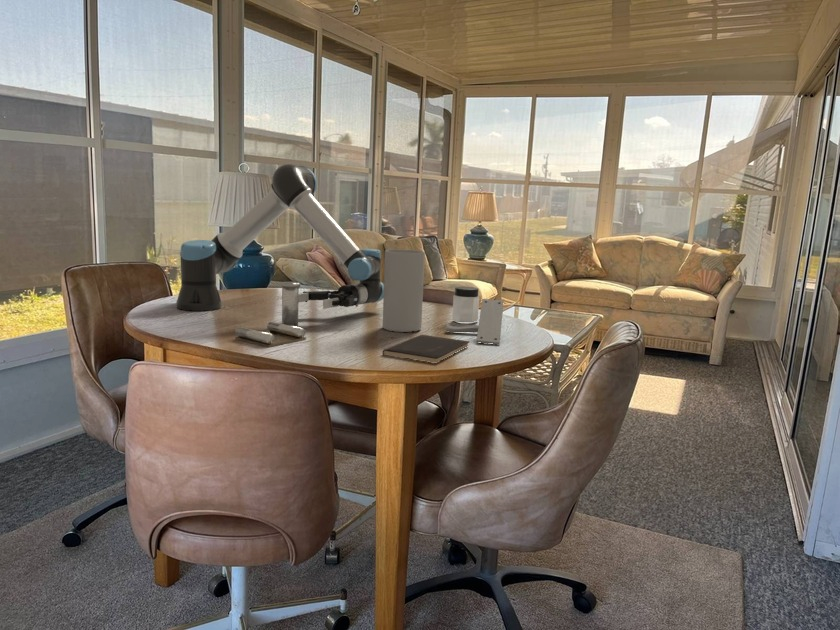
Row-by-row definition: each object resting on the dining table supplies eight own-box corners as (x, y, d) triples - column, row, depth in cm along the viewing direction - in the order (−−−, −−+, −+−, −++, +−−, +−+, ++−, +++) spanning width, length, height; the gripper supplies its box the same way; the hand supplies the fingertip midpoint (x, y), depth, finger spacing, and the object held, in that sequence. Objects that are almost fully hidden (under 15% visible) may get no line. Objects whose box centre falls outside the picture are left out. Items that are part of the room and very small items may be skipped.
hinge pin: (276, 326, 198) (276, 282, 196) (290, 324, 203) (290, 281, 201) (289, 329, 195) (290, 284, 193) (303, 327, 200) (304, 283, 197)
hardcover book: (469, 349, 183) (469, 341, 182) (437, 366, 162) (437, 357, 162) (418, 341, 189) (419, 334, 189) (382, 357, 169) (382, 349, 168)
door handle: (497, 362, 191) (501, 319, 206) (499, 342, 186) (503, 300, 201) (440, 356, 194) (448, 314, 209) (440, 336, 188) (448, 295, 203)
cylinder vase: (384, 332, 197) (387, 252, 192) (380, 324, 209) (383, 249, 205) (424, 333, 199) (427, 253, 195) (418, 325, 211) (421, 250, 207)
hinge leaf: (234, 339, 179) (234, 327, 179) (273, 331, 191) (273, 320, 190) (268, 347, 171) (268, 335, 171) (306, 339, 183) (306, 327, 182)
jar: (476, 320, 225) (478, 287, 223) (478, 324, 217) (481, 290, 215) (451, 319, 225) (453, 285, 222) (452, 323, 217) (454, 289, 214)
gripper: (379, 310, 215) (337, 318, 197) (325, 301, 229) (281, 307, 211) (380, 288, 213) (337, 294, 196) (325, 280, 227) (281, 285, 210)
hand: (308, 301), depth 204 cm, fingers open, 13 cm apart
